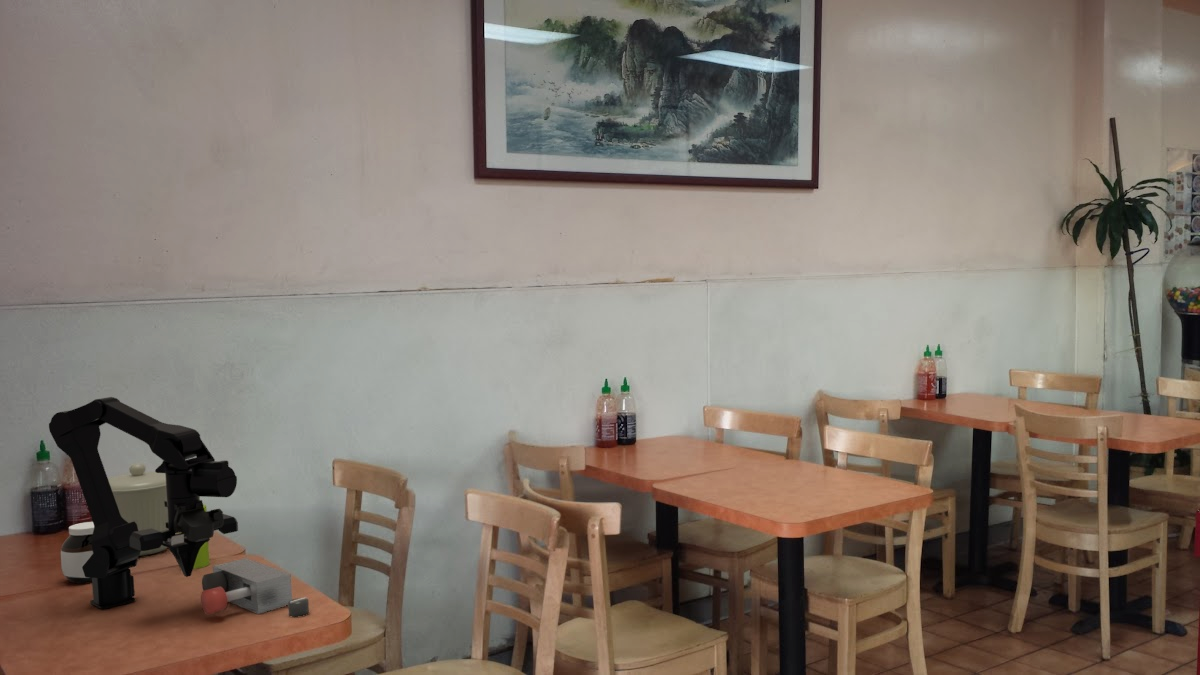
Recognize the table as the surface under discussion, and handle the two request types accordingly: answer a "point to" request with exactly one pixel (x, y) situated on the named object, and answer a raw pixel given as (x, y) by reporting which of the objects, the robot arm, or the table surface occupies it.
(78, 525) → the spread jar
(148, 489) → the canister
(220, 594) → the red knob
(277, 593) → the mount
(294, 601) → the dial
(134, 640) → the table surface
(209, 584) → the black knob
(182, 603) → the table surface
